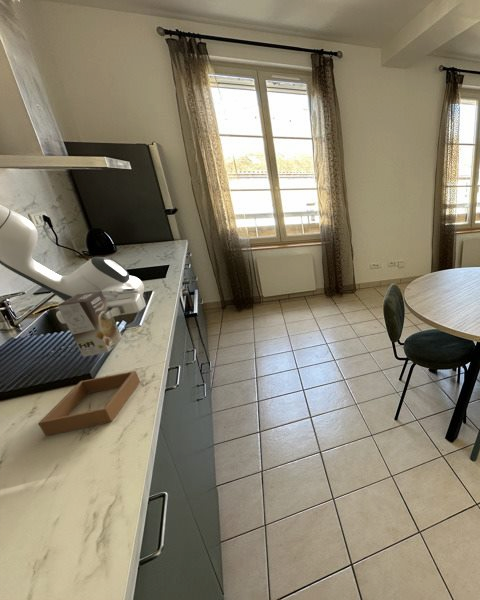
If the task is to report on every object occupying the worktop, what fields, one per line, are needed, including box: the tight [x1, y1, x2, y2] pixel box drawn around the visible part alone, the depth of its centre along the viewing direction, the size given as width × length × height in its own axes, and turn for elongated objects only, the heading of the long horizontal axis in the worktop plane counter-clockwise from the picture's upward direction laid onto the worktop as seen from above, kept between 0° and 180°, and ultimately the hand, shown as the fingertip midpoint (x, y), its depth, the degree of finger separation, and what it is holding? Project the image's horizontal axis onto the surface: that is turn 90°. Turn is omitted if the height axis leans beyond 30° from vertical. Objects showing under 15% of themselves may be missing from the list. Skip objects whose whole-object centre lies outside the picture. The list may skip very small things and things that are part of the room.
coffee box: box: [56, 291, 123, 358], centre depth 94 cm, size 9×6×16 cm
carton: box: [37, 370, 141, 437], centre depth 88 cm, size 14×18×4 cm
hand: (88, 319), depth 92 cm, fingers closed on coffee box, 6 cm apart
